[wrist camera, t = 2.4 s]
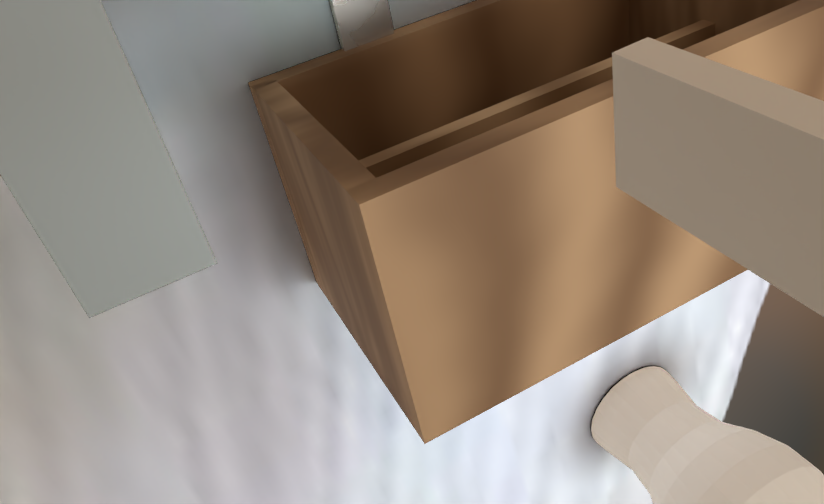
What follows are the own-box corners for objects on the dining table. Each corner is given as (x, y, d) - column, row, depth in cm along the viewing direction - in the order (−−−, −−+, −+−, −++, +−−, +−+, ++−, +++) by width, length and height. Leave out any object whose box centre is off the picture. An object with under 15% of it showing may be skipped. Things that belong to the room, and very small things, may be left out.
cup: (572, 389, 51) (739, 558, 39) (688, 328, 53) (874, 468, 42) (576, 479, 57) (721, 647, 45) (679, 420, 60) (840, 564, 48)
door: (148, 117, 28) (217, 263, 19) (35, 158, 27) (52, 333, 18) (-32, -281, 21) (-58, -354, 12) (-200, -249, 20) (-377, -301, 10)
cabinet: (317, 283, 36) (424, 443, 27) (247, 82, 29) (359, 204, 20) (630, 141, 41) (810, 235, 32) (631, -56, 35) (857, -9, 26)
